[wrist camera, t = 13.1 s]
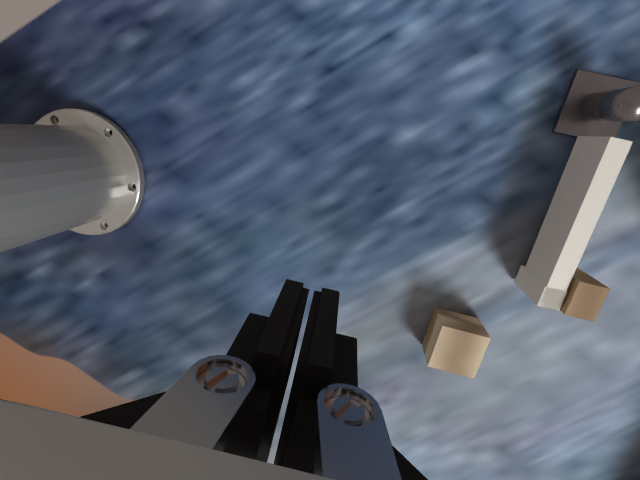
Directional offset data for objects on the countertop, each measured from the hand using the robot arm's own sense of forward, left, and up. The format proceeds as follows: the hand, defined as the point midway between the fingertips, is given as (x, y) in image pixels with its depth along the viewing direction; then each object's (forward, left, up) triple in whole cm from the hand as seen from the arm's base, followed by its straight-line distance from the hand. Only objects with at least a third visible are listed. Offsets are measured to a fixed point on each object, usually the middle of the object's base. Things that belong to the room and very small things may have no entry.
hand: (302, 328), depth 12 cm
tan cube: (+14, -11, -26) cm, 32 cm away
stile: (+21, -3, -26) cm, 34 cm away
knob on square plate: (+19, +12, -26) cm, 34 cm away
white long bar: (+19, +2, -26) cm, 32 cm away
